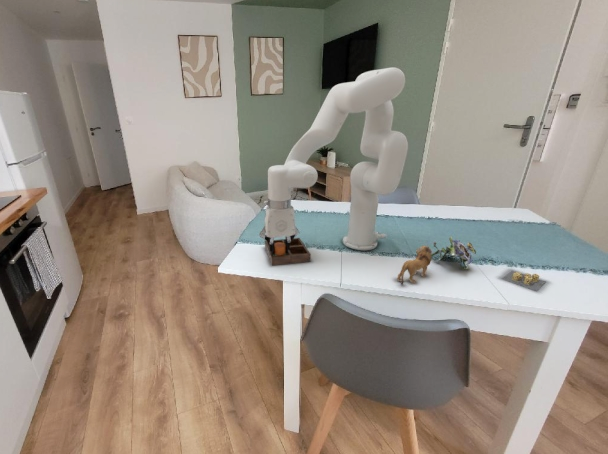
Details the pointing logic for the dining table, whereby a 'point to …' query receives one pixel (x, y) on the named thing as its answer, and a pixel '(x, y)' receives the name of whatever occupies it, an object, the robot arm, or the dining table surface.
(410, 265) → the lion figurine
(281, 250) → the orange short cylinder
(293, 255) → the grid
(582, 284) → the dining table surface
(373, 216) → the robot arm
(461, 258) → the passion flower
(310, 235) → the dining table surface
